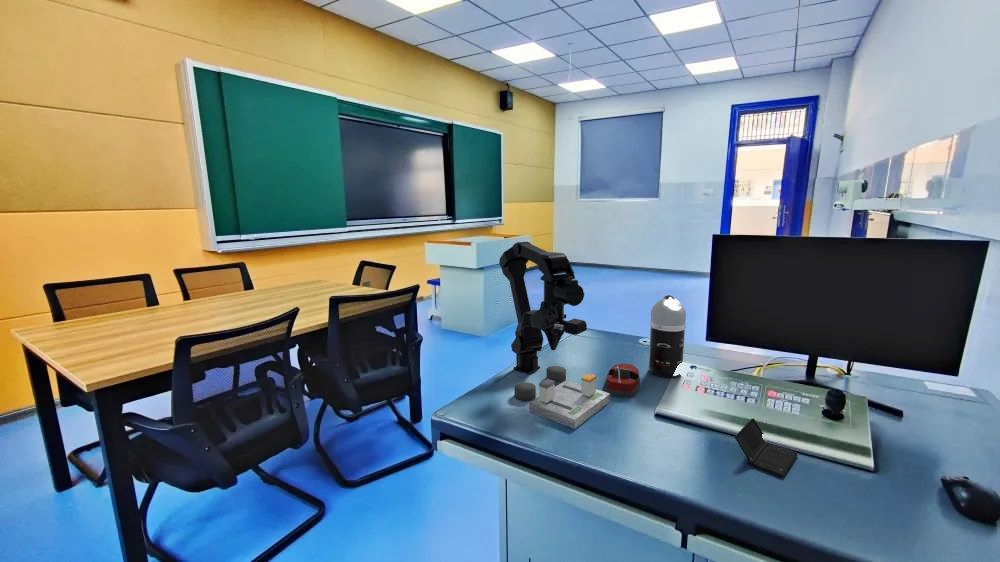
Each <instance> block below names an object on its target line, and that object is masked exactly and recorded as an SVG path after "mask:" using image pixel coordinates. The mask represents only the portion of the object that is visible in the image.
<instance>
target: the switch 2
mask: <svg viewBox="0 0 1000 562" xmlns="http://www.w3.org/2000/svg"><path fill="white" fill-rule="evenodd" d="M580 378H581V394H582V395H585V396H588V397H590V396H591V395H592V394H594V393H595V392H596V389H597V374H596V375H595V374H592V373H586V374H585V375H583V376H582V377H580Z"/></svg>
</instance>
